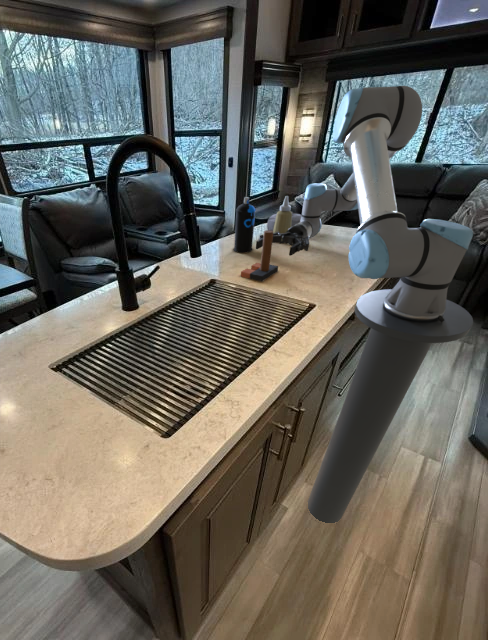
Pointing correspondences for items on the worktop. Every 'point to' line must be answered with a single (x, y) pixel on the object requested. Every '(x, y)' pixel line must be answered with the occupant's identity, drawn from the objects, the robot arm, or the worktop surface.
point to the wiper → (265, 259)
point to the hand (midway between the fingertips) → (273, 248)
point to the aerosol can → (244, 227)
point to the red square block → (246, 273)
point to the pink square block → (256, 266)
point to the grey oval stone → (271, 221)
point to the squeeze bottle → (283, 218)
